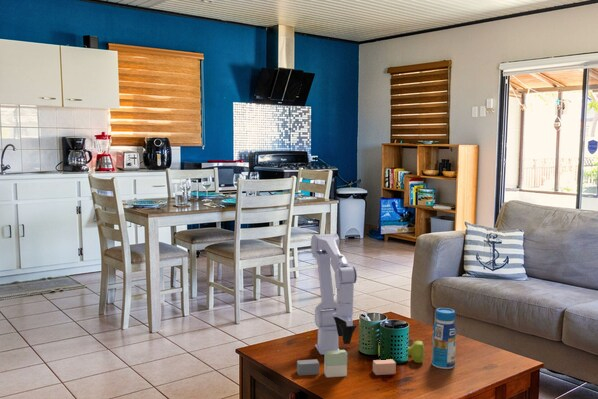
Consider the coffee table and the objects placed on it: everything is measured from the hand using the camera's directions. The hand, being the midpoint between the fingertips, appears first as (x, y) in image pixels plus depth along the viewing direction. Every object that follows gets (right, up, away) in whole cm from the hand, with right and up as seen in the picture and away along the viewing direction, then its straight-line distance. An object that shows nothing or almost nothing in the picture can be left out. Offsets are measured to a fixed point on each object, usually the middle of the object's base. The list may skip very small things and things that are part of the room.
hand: (343, 339), depth 205 cm
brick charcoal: (-13, -11, -3) cm, 17 cm away
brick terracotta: (+14, -11, -2) cm, 18 cm away
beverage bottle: (+36, -11, +5) cm, 38 cm away
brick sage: (-3, -7, -5) cm, 9 cm away
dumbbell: (+21, -10, +10) cm, 26 cm away
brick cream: (-3, -11, -4) cm, 12 cm away
